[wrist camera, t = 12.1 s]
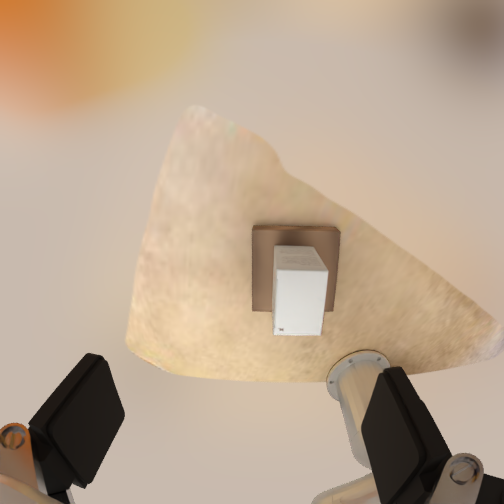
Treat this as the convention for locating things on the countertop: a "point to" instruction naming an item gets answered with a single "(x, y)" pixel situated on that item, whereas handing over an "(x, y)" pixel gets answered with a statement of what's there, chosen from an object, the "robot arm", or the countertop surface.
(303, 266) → the small box
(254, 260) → the walnut block
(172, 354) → the countertop surface
